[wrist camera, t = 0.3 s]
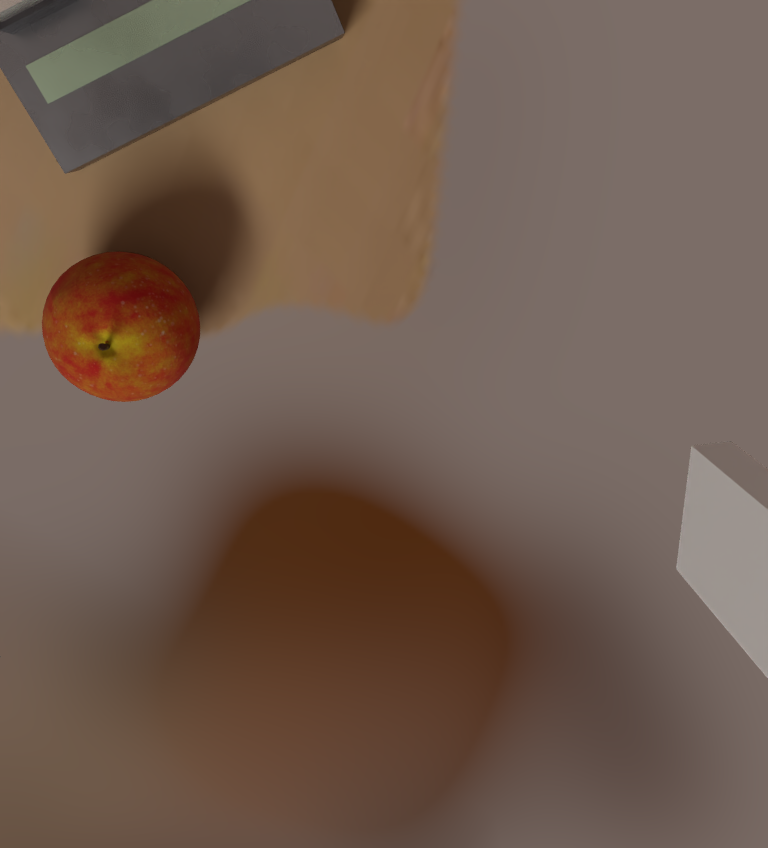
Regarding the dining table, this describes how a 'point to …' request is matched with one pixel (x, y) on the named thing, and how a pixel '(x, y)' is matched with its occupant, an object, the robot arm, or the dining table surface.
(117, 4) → the panel
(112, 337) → the fruit
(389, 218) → the dining table surface
